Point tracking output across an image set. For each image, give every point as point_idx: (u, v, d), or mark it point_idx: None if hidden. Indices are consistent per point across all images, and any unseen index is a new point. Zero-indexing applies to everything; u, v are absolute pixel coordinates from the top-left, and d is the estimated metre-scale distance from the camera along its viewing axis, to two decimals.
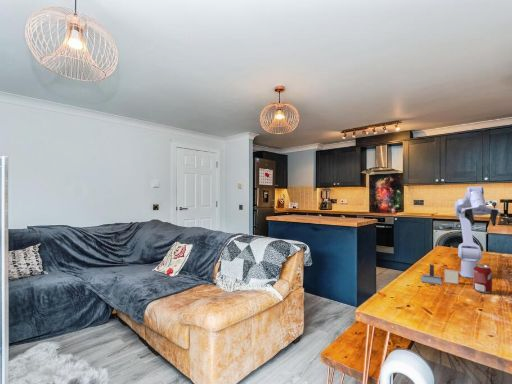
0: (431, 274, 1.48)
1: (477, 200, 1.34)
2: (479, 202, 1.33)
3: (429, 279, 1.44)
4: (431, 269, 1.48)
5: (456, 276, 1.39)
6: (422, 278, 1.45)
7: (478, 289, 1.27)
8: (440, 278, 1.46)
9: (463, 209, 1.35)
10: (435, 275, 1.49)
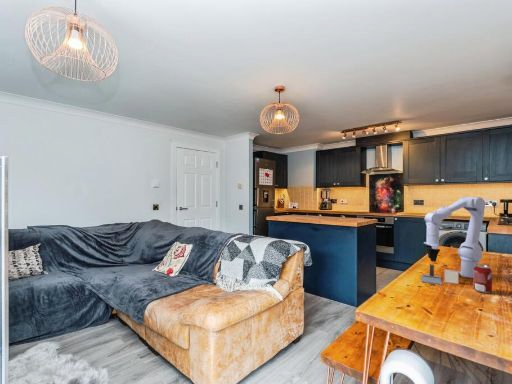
0: (431, 274, 1.48)
1: None
2: (426, 238, 1.50)
3: (429, 279, 1.44)
4: (431, 269, 1.48)
5: (456, 276, 1.39)
6: (422, 278, 1.45)
7: (478, 289, 1.27)
8: (440, 278, 1.46)
9: None
10: (435, 275, 1.49)
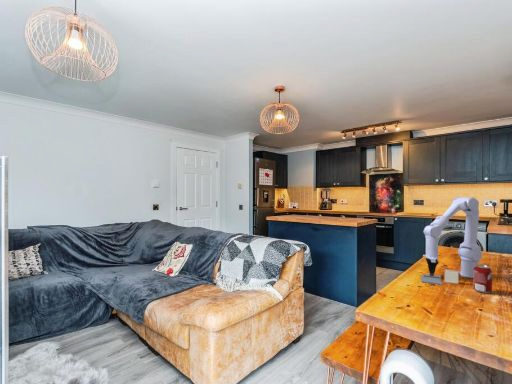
0: (431, 274, 1.48)
1: None
2: None
3: (429, 279, 1.44)
4: None
5: (456, 276, 1.39)
6: (422, 278, 1.45)
7: (478, 289, 1.27)
8: (440, 278, 1.46)
9: None
10: (435, 275, 1.49)
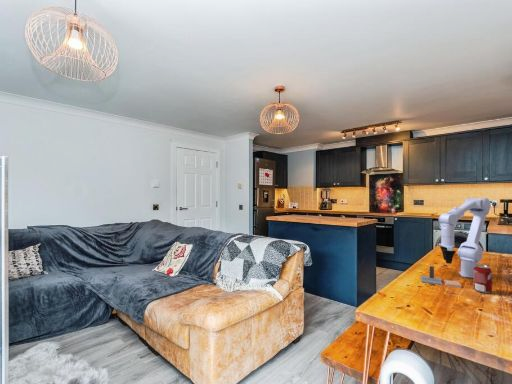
0: (431, 276, 1.42)
1: (441, 235, 1.47)
2: (441, 239, 1.47)
3: None
4: (431, 271, 1.42)
5: None
6: (422, 278, 1.45)
7: (478, 289, 1.27)
8: (440, 280, 1.40)
9: None
10: (435, 277, 1.43)
